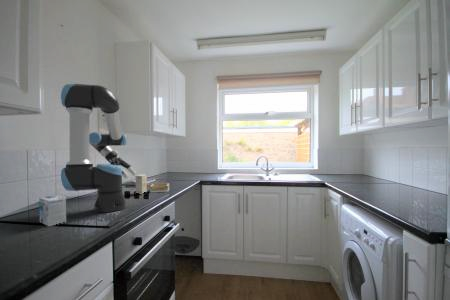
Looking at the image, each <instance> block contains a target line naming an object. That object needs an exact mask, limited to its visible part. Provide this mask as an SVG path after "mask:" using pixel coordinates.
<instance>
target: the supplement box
mask: <svg viewBox="0 0 450 300" xmlns="http://www.w3.org/2000/svg"><path fill="white" fill-rule="evenodd" d="M134 176H135V194H136V193H139V194H143V193H144V192H146V193H147V192H148V190H147V189H148V187H147V186H148V184H147V183H148V181H147V174H145V173H140V174H137V175H136V174H135V175H134ZM143 195H144V194H143Z"/></svg>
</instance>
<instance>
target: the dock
mask: <svg viewBox="0 0 450 300" xmlns="http://www.w3.org/2000/svg"><path fill="white" fill-rule="evenodd" d="M169 191H170V183H167V182H166V183H165V182H163V183H161V182H160V183H151V185H150V186H149V193H152V194H153V193H168V192H169Z"/></svg>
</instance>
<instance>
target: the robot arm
mask: <svg viewBox="0 0 450 300" xmlns="http://www.w3.org/2000/svg"><path fill="white" fill-rule="evenodd" d="M60 99H61V100H60V101H61V105H62V106H63V107H65V111H66V112H68V113H69V161H68V162H66V163H65V167H63V168H62V169H61V170H60V180H61V183H62V187H63V188H64V189H65V191H69V192H71V191H72V192H78V191H89V190H90V191H93V190H94V191H95V190H97V195H96V199H95V201H94V205H93V212H95V213H111V212H117V211H122V210H124V209H125V208H127V202H126V198H125V196H124V194H123V178H124V179H127V178H128V177H129V176H130V175H129V174H128V173H130V174H131V176H133V177H134V176H136V174H137V172H136V171H135V170H134V169H133V167H132V166H131V165H130V164H129V163H127V162H126V161H125V160H124V159H122V158H121V157H118V153H117V152H115V151H114V149H113V148H112V147H111V146H115V147H116V146H120V147H121V146H126V145H127V135H126V133H125V134H124V133H123V131H122V125H121V120H120V115H119V110H120V103H119V100H118V99H117V96H115V94H114V93H113V92H112V91H111V90H110V89H108V88H106V87H104V86H102V85H99V84H98V85H97V84H83V83H81V84H80V83H67V84H65V85H64V86H62V89H61V93H60ZM98 108H99V109H100V110H101V112H103V116H104V118H105V124H106V128H107V131H108V133H107V134H106V133H104V134H103V133H99V132H98V131H97V132H96V131H94V132H90V115H91V114H92V113H93V109H98ZM90 145H91V146H92V147H93V148H94V149H95V150H96V151H97V152H98V153H99V154H100V155H101V157H103V158H105V160H106V161H107V162H109V163H98V164H96V166H94V163H93V162H92V161H91V160H90ZM122 167H123V168H125V169H126V170H127V171H128V173H127V172H126V171H125V170H123V168H122Z"/></svg>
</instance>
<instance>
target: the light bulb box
mask: <svg viewBox="0 0 450 300" xmlns="http://www.w3.org/2000/svg"><path fill="white" fill-rule="evenodd" d="M66 199H67V197H65V196H60V195H57V194H53V195H50V196H49V195H48V196H43V197H39V199H38V200H39V202H38V203H39V204H38V205H39V223H42V224H43V225H45V226H47V227H52V226H56V224H57V225H60V224H59V223H61V224H64V223H63V222H65V223H67V200H66Z"/></svg>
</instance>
